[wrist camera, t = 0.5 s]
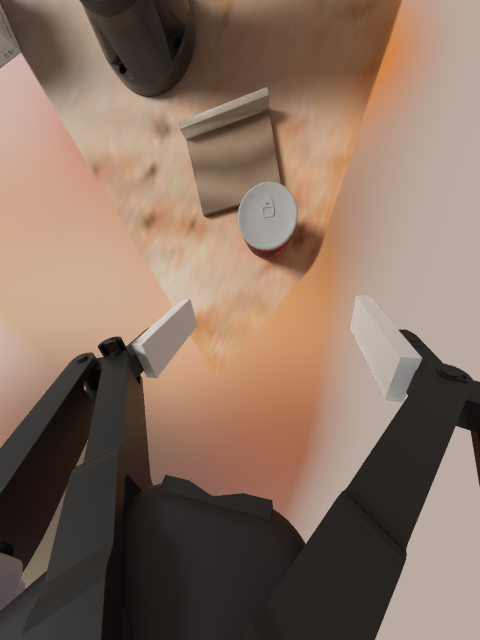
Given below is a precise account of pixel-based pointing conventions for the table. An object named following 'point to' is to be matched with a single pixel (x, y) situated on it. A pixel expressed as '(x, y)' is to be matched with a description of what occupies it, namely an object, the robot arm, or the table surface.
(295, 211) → the canned food
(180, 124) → the shelf board
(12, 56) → the supplement box
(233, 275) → the table surface
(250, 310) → the table surface
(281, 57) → the table surface
